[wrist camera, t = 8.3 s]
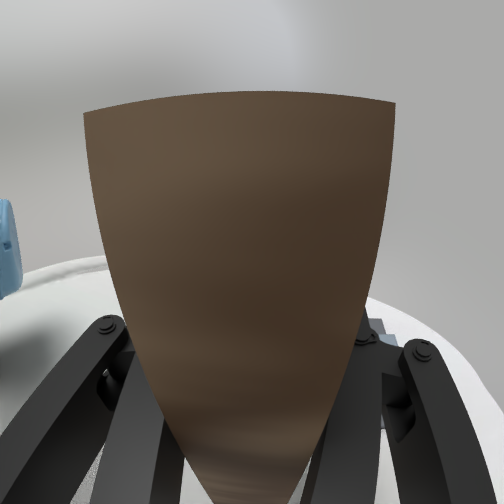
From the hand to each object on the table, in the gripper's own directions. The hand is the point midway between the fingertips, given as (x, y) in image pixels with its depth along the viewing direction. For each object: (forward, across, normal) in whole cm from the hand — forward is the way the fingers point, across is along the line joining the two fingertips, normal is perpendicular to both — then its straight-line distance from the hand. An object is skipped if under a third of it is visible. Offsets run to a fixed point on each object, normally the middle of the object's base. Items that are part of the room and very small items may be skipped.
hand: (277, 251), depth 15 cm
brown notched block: (-5, 0, -9) cm, 11 cm away
